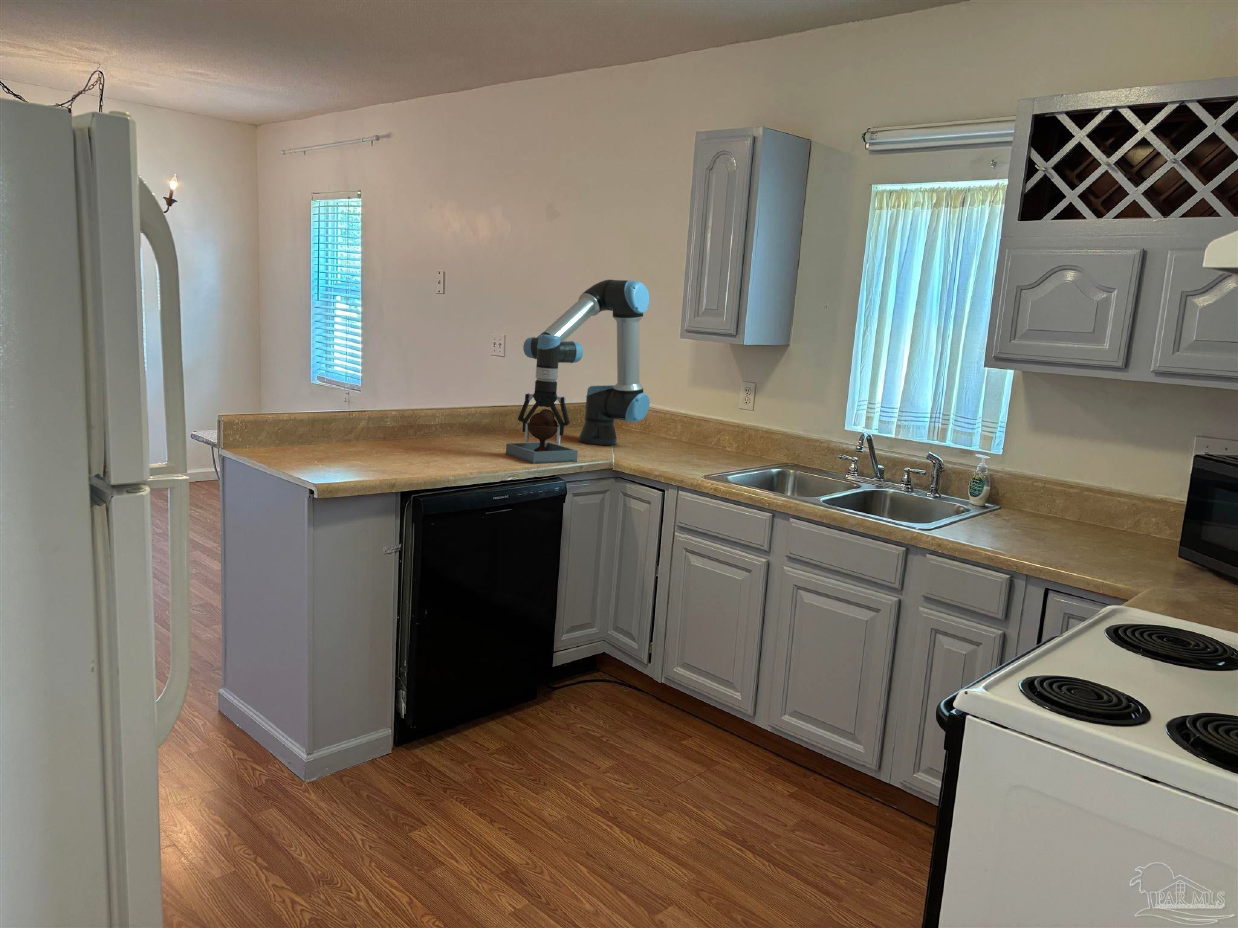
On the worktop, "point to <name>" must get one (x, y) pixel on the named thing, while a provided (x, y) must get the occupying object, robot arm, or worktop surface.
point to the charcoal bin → (541, 453)
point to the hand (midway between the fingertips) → (542, 443)
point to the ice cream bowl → (543, 427)
